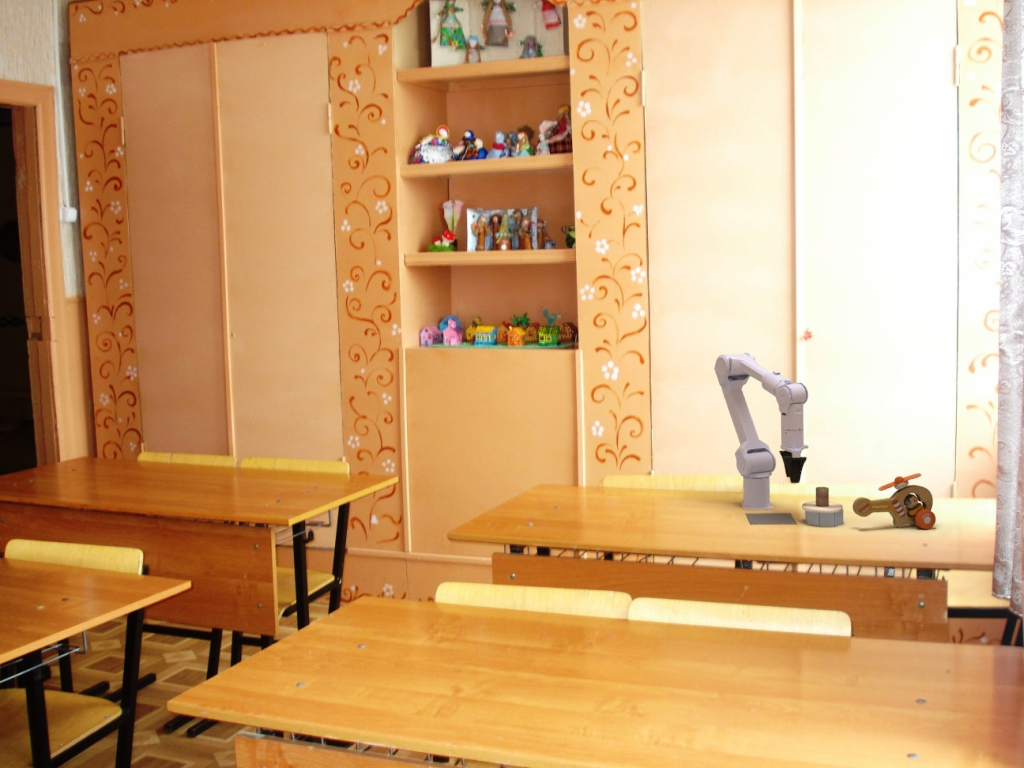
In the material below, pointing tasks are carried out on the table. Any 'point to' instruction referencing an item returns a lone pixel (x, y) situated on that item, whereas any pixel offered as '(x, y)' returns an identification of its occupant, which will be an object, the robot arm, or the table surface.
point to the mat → (770, 518)
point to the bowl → (824, 519)
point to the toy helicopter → (901, 504)
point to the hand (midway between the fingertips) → (792, 479)
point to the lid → (822, 503)
